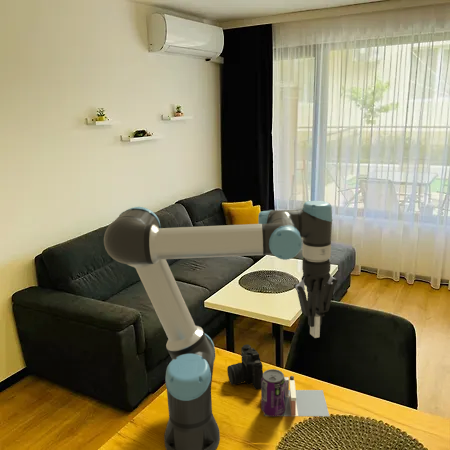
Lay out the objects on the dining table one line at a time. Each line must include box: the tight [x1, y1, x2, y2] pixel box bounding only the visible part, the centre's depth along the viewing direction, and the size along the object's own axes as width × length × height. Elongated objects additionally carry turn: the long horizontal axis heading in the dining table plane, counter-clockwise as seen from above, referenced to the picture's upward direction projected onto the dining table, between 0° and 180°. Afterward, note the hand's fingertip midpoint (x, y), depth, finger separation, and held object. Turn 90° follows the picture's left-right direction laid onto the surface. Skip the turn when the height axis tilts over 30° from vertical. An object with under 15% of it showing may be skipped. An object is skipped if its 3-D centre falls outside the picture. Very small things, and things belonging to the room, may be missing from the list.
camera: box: [227, 344, 264, 390], centre depth 144 cm, size 14×11×10 cm
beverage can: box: [260, 368, 285, 417], centre depth 128 cm, size 7×7×12 cm
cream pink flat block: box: [289, 379, 297, 417], centre depth 130 cm, size 8×2×6 cm, turn 174°
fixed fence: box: [284, 375, 295, 396], centre depth 136 cm, size 9×2×6 cm, turn 87°
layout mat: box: [263, 389, 330, 417], centre depth 133 cm, size 19×12×1 cm, turn 87°
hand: (314, 335), depth 125 cm, fingers closed
